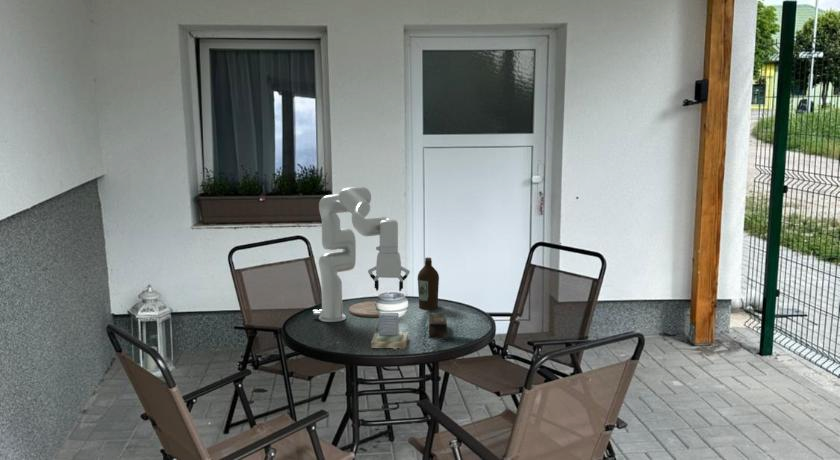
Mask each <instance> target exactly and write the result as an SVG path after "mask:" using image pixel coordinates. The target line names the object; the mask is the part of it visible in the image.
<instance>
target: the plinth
mask: <svg viewBox="0 0 840 460" xmlns="http://www.w3.org/2000/svg"><path fill="white" fill-rule="evenodd" d="M408 338H409V333H408V332H405V333H404V332H403V331H402V330H399V333H398V336H393V335H379V332H374V334H373V337H372V340H371V341H370V349H372V348H393V350H398V349H397V348H400V349H399V350H406V348H407V345H408V344H407V343H408V340H409V339H408ZM405 347H406V348H405Z"/></svg>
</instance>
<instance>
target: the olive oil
mask: <svg viewBox="0 0 840 460" xmlns="http://www.w3.org/2000/svg"><path fill="white" fill-rule="evenodd" d="M432 263H433V261H432V257H425V258H424V266H423V267H422V268H421V269H420V270H419V271H418V274H417V290H418V292H417V293H418V307H419V309H422V310H435V309H437V308H438V305H439V283H440V275H439V272H438V271H437V269H436V268H435V267H434V266H433V264H432Z"/></svg>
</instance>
